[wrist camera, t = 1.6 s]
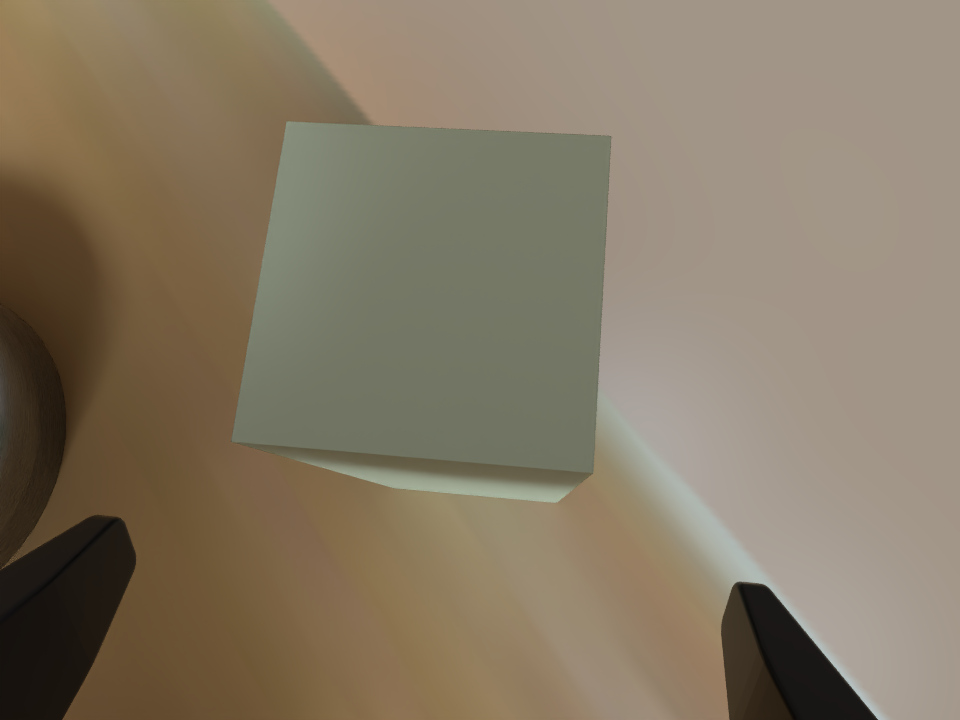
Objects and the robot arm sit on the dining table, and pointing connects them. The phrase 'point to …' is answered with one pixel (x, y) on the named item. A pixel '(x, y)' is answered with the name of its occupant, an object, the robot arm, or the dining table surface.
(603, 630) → the dining table surface
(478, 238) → the sage block
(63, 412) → the charcoal tin
